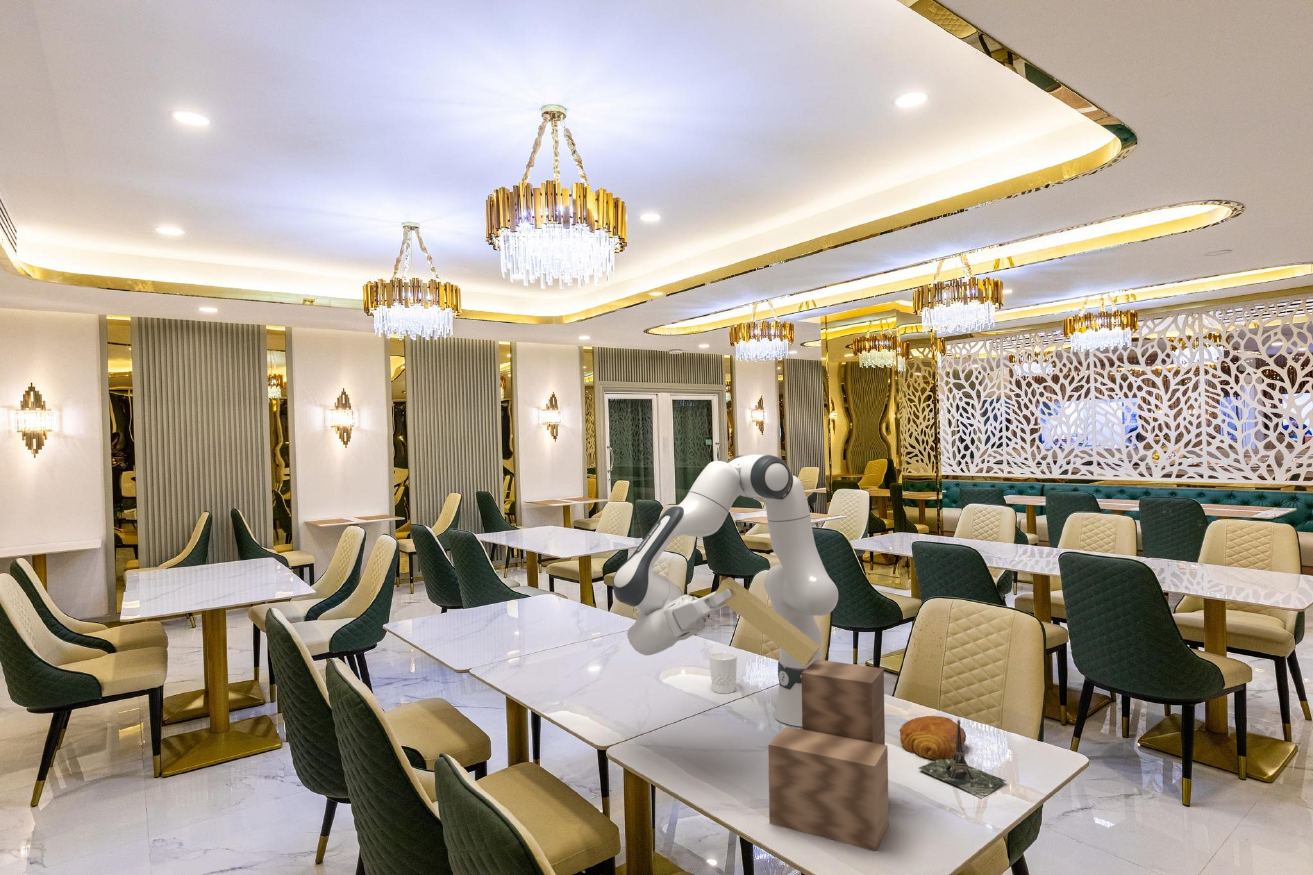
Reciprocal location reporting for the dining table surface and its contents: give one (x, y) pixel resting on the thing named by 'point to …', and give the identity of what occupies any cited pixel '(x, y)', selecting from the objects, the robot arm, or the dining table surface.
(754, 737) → the dining table surface
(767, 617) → the rail
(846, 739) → the stand
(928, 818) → the dining table surface
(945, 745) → the croissant
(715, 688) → the white cup
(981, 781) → the eiffel tower figurine
